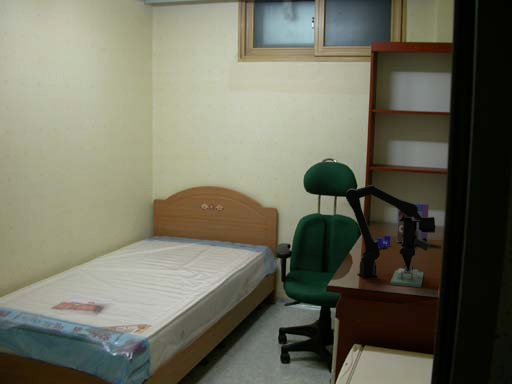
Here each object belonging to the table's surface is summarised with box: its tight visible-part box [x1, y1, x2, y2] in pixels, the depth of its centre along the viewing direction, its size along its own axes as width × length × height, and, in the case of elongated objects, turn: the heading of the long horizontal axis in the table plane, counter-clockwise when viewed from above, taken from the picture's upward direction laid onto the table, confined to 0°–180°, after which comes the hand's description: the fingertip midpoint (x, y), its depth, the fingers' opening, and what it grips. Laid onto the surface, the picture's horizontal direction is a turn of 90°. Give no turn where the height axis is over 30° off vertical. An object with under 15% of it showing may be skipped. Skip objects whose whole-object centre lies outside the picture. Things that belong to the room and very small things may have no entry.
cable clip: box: [375, 235, 391, 249], centre depth 308 cm, size 12×4×6 cm, turn 141°
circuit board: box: [390, 269, 424, 288], centre depth 229 cm, size 24×12×1 cm, turn 160°
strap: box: [403, 265, 412, 274], centre depth 229 cm, size 12×3×1 cm, turn 160°
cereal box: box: [396, 203, 430, 243], centre depth 323 cm, size 17×5×24 cm, turn 77°
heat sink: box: [397, 264, 419, 280], centre depth 229 cm, size 13×8×4 cm, turn 160°
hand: (408, 267), depth 231 cm, fingers closed, pressing on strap
